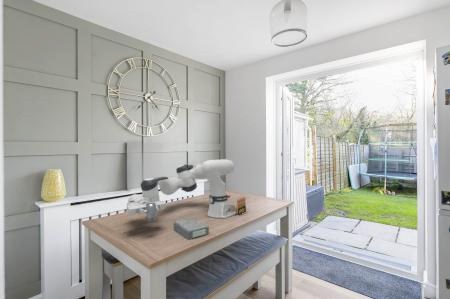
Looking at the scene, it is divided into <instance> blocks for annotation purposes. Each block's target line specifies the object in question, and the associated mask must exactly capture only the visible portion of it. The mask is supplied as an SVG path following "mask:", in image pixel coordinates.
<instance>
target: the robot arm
mask: <svg viewBox="0 0 450 299" xmlns="http://www.w3.org/2000/svg"><path fill="white" fill-rule="evenodd" d="M192 167H193V166H192V165H189V164H186V163H185V164H180V165H179V166H177V168H176V170H175V171H176V174H177V176H173V177H170V178H169V177H167V176H159V177H153V178H151V177H150V178H149V177H148V178H145V179H143V180H142V181H141V183H140V189H141V192H142V195H140V194H137V193H136V194H135V193H134V194H131V195H130V196H129V197H128V200H127V203H126V214H127V215H128V216H134V215H140V214H141V215H146V214H147V210H146V204H147V203H156V213H157V212H159V211H163V210H165V208H166V207H165V206H166V204H165V202H164V201H161V200H160V194H159V190H160V191H161V193H162V194H163V195H166V196H170V195H173V194H175V193H176V192H177V191H178V190H181V191H183V192H185V193H186V192H187V193H191V192H193V191H195V190H196V189H197V187H198V185H197V182H196V180H206V179H207V180H208V183H209V195H208V196H209V201H208V202H209V206H208V211H207V214H206V216H208V217H210V218H216V219H218V218H219V219H220V218H221V219H227V218H230V217H232V216H236V215H235V214H236V208H235V204H234V203H233V202H232V201H230V200H229V199H231V195H230V194H227V192H226V191H227V187H226V186H227V185H226V182H225V181H223V180H222V179H221V176H224V175H229V174H232V173H233V172H234V169H235V163H234V161H232V160H230V159H226V158H222V159H208V160H206V161H203V163H202V164H200V165H197V166H195V167H194V168H192ZM158 186H159V187H158Z"/></svg>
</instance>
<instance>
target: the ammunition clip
mask: <svg viewBox="0 0 450 299" xmlns="http://www.w3.org/2000/svg"><path fill="white" fill-rule="evenodd" d="M235 210H236V215H239V216H241V215H243V214H242V213H244V212H246V213H247V205H246V196H243V197H239V198H237V199H236V208H235ZM240 214H241V215H240ZM244 214H245V213H244ZM236 215H235V216H236Z"/></svg>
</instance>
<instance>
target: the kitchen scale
mask: <svg viewBox="0 0 450 299" xmlns="http://www.w3.org/2000/svg"><path fill="white" fill-rule="evenodd" d="M172 230H174V231H175V232H176V233H178V234H179V235H181V236H182V237H183V238H184V239H187V240H192V239H196V238H199V237H203V236H207V235H210V232H209V231H210V227H209V226H208V224H206V223H204V222H201V221H200V220H198V219H196V218H194V217H190V218H186V219H180V220H177V221H174V222H173V229H172Z"/></svg>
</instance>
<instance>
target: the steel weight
mask: <svg viewBox="0 0 450 299" xmlns="http://www.w3.org/2000/svg"><path fill="white" fill-rule="evenodd" d="M146 210H147V214H145V222H146V223H153V222H154V223H155V222H156V218H157V217H156V216H157V215H156V214H157V212H156V203H147V204H146Z"/></svg>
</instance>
